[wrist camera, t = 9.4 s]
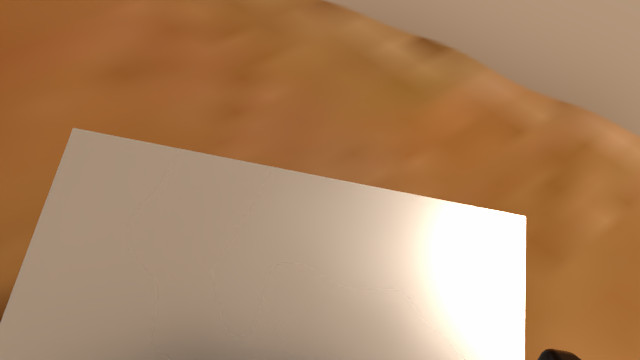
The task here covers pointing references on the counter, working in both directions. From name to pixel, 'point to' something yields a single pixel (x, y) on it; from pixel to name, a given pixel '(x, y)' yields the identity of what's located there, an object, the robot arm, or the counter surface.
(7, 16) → the counter surface
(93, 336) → the white tall rectangular block
